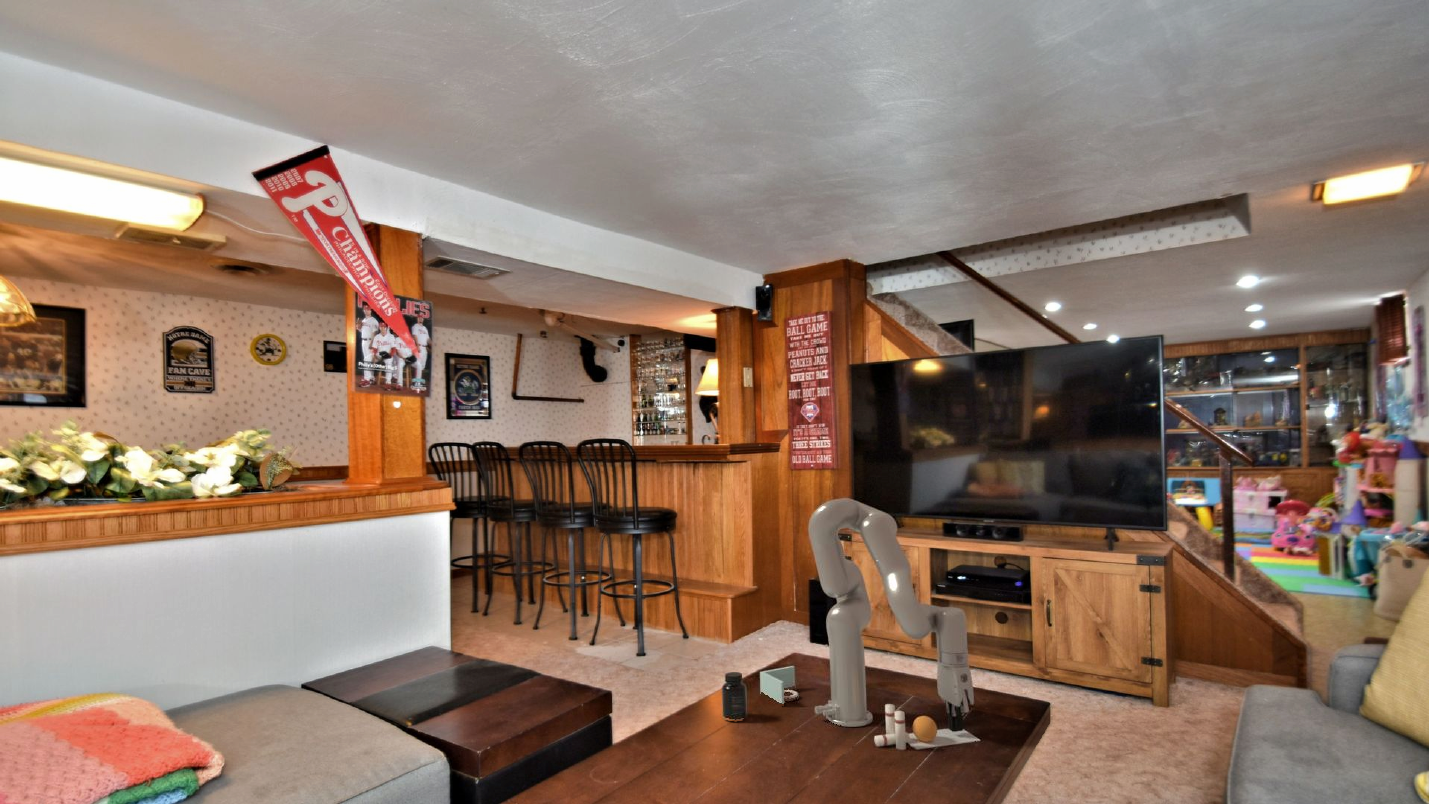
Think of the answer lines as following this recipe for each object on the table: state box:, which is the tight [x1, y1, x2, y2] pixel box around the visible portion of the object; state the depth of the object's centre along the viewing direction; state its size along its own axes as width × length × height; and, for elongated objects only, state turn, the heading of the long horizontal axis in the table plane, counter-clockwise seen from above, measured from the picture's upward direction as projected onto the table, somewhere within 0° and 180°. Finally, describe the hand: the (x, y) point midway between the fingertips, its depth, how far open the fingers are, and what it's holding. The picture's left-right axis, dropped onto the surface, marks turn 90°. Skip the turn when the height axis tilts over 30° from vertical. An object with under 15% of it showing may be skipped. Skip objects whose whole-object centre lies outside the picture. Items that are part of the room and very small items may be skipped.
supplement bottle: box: [721, 671, 748, 720], centre depth 198 cm, size 7×7×12 cm
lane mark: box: [907, 728, 981, 750], centre depth 181 cm, size 18×9×1 cm, turn 104°
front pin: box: [873, 731, 910, 747], centre depth 178 cm, size 2×2×8 cm
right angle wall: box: [759, 665, 800, 704], centre depth 214 cm, size 12×12×8 cm
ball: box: [912, 715, 938, 742], centre depth 179 cm, size 6×6×6 cm
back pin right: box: [895, 710, 907, 751], centre depth 176 cm, size 2×2×8 cm
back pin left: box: [884, 703, 896, 735], centre depth 181 cm, size 2×2×8 cm
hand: (955, 729), depth 182 cm, fingers closed
